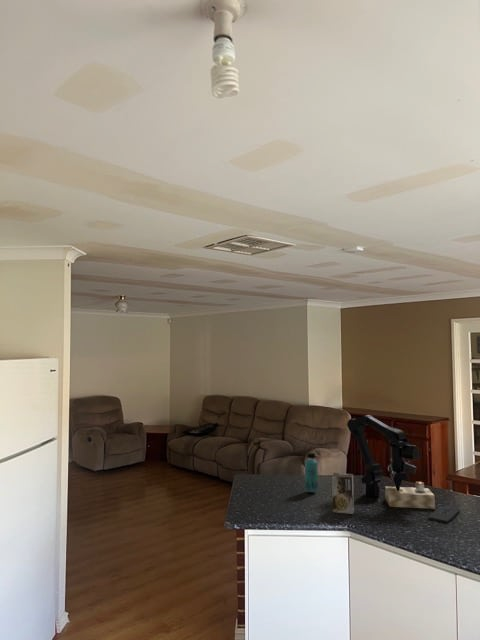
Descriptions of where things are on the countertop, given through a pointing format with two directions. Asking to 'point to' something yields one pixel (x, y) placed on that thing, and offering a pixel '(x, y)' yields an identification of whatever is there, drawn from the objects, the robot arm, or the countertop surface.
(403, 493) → the birch block
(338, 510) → the coffee box
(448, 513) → the smart home device
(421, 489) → the steel peg
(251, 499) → the countertop surface
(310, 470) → the beverage bottle
